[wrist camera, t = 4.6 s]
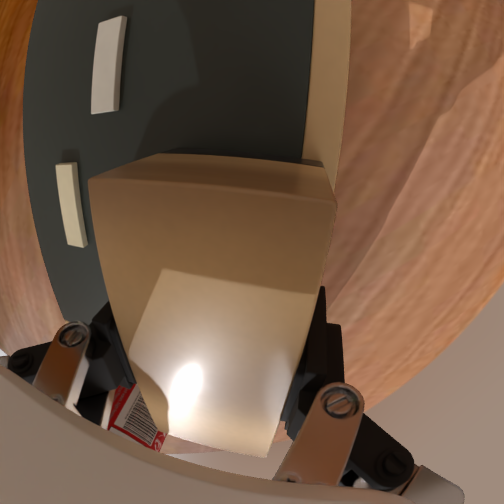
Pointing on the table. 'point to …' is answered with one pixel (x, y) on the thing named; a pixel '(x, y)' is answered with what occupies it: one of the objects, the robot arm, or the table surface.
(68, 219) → the chalk mark
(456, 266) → the table surface
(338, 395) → the robot arm
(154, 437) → the soda can
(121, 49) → the white chalk stick
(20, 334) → the table surface
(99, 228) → the eraser
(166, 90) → the chalkboard
